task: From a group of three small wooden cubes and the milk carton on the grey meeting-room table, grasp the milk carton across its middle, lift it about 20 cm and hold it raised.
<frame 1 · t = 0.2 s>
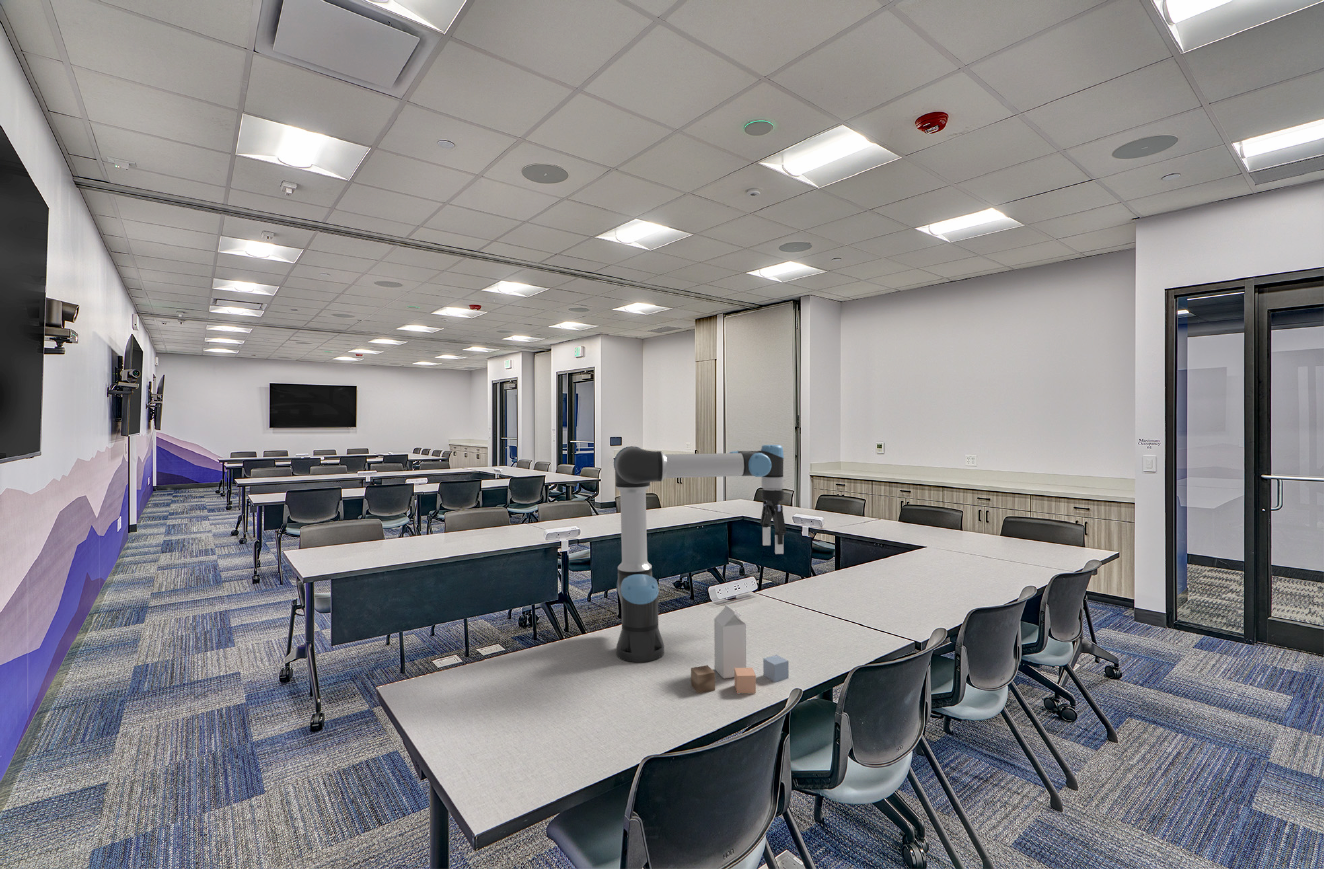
hand: (772, 549, 202), 28 cm above the table, fingers open, 13 cm apart
milk carton: (730, 673, 167), on the table
walnut cube: (703, 688, 158), on the table
slate cube: (775, 677, 164), on the table
terracotta cube: (745, 690, 157), on the table
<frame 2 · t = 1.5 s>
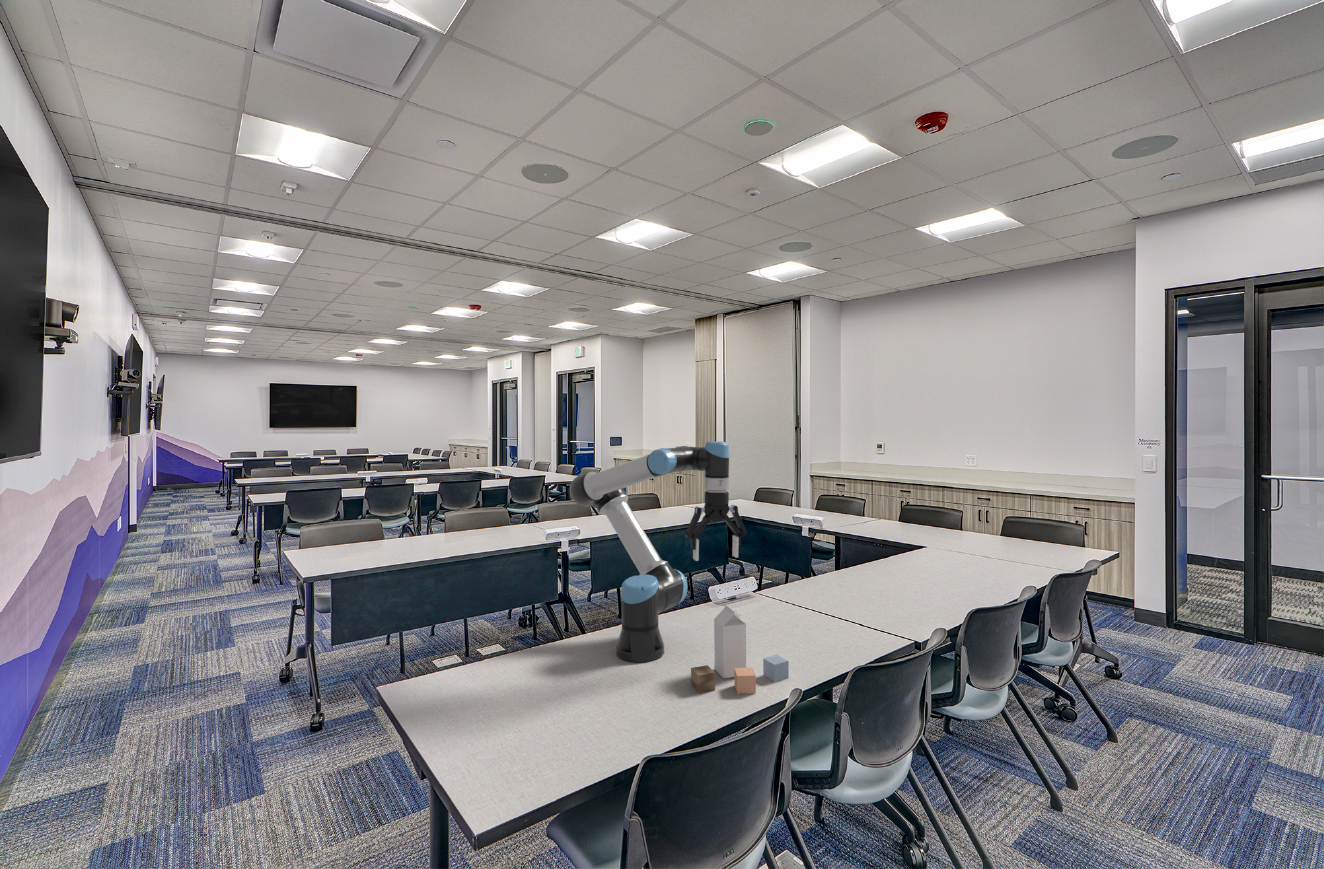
hand: (715, 558, 181), 30 cm above the table, fingers open, 13 cm apart
nothing on the table moved.
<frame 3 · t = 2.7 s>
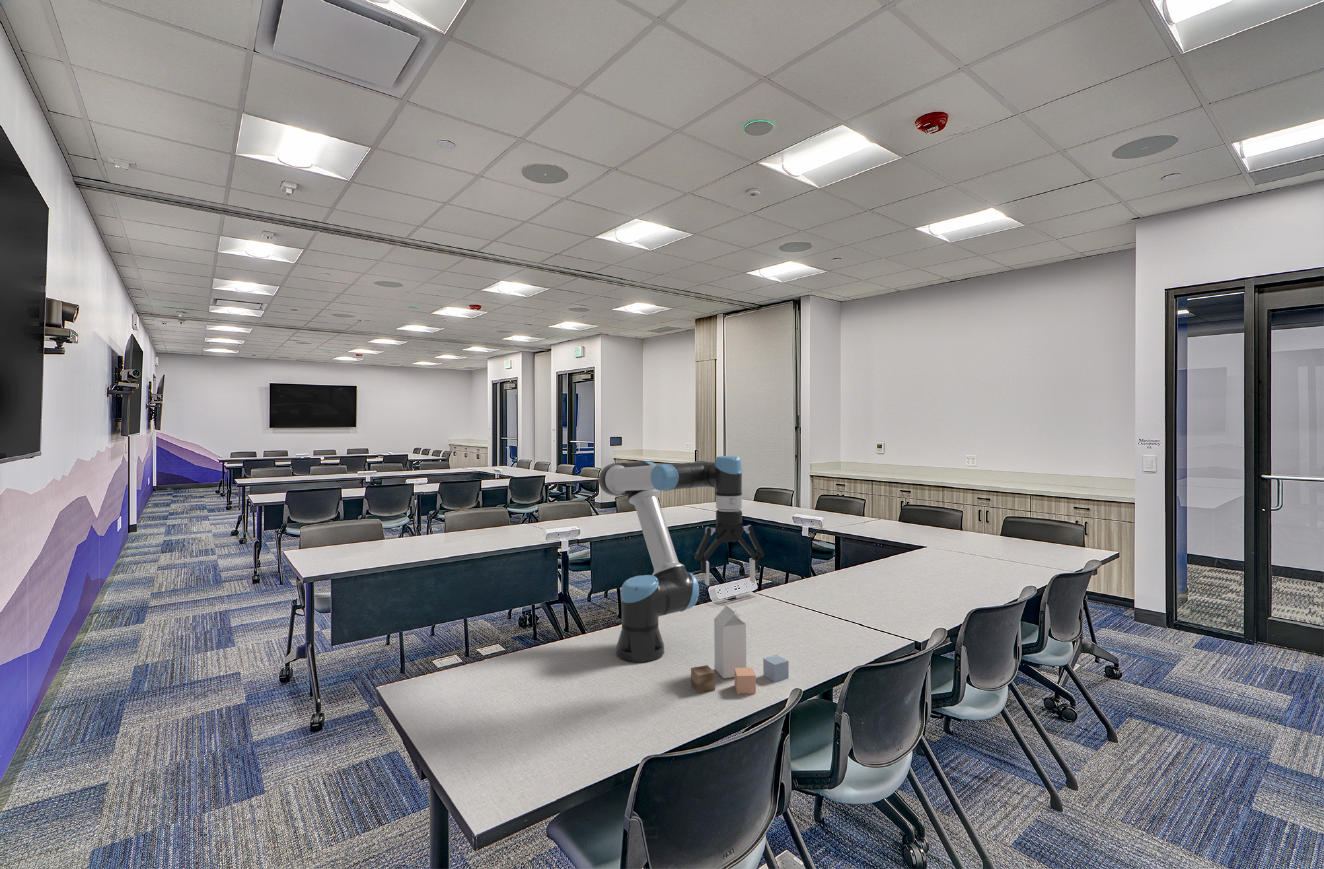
hand: (729, 583, 167), 26 cm above the table, fingers open, 13 cm apart
nothing on the table moved.
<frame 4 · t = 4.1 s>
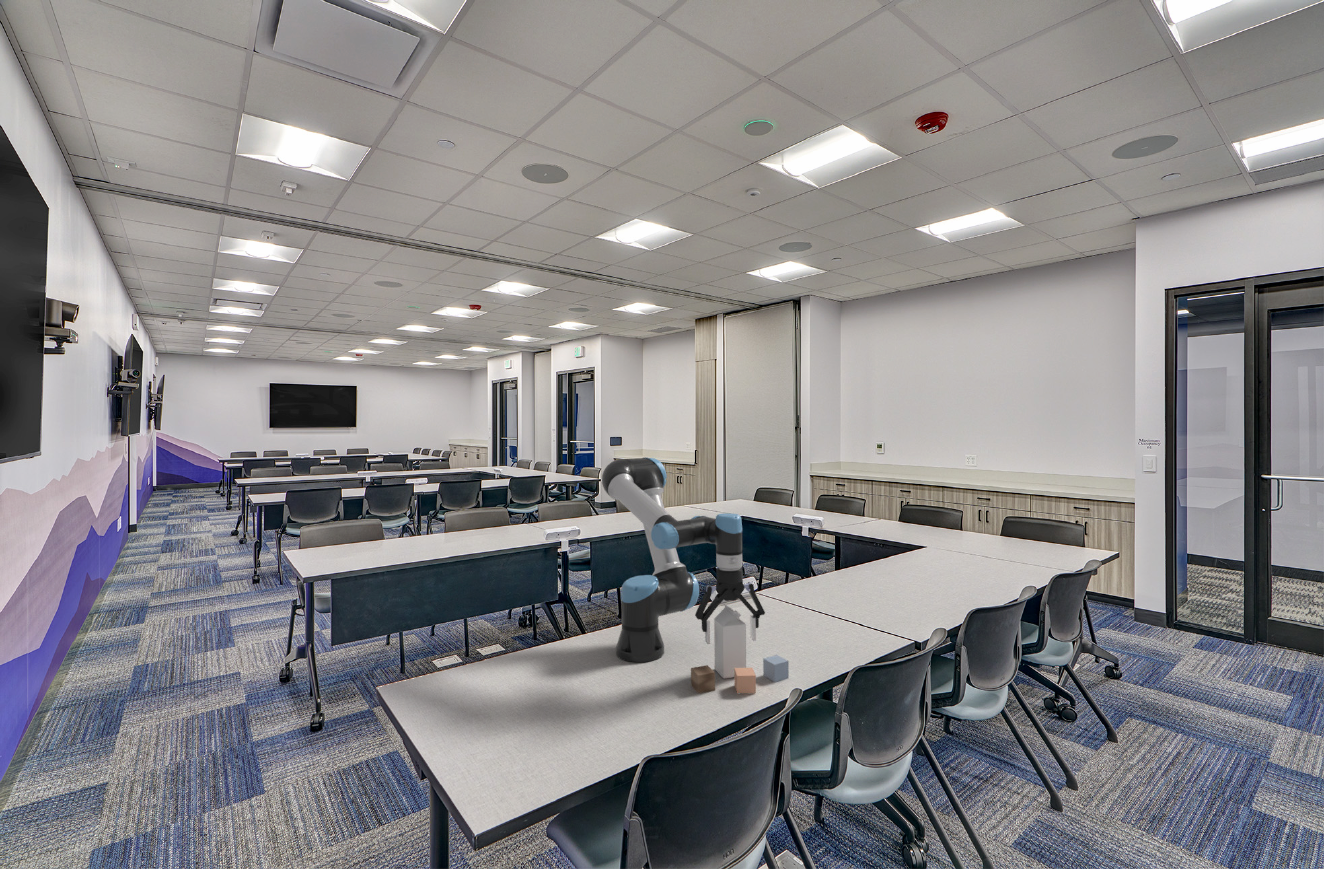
hand: (730, 641, 167), 9 cm above the table, fingers open, 13 cm apart
nothing on the table moved.
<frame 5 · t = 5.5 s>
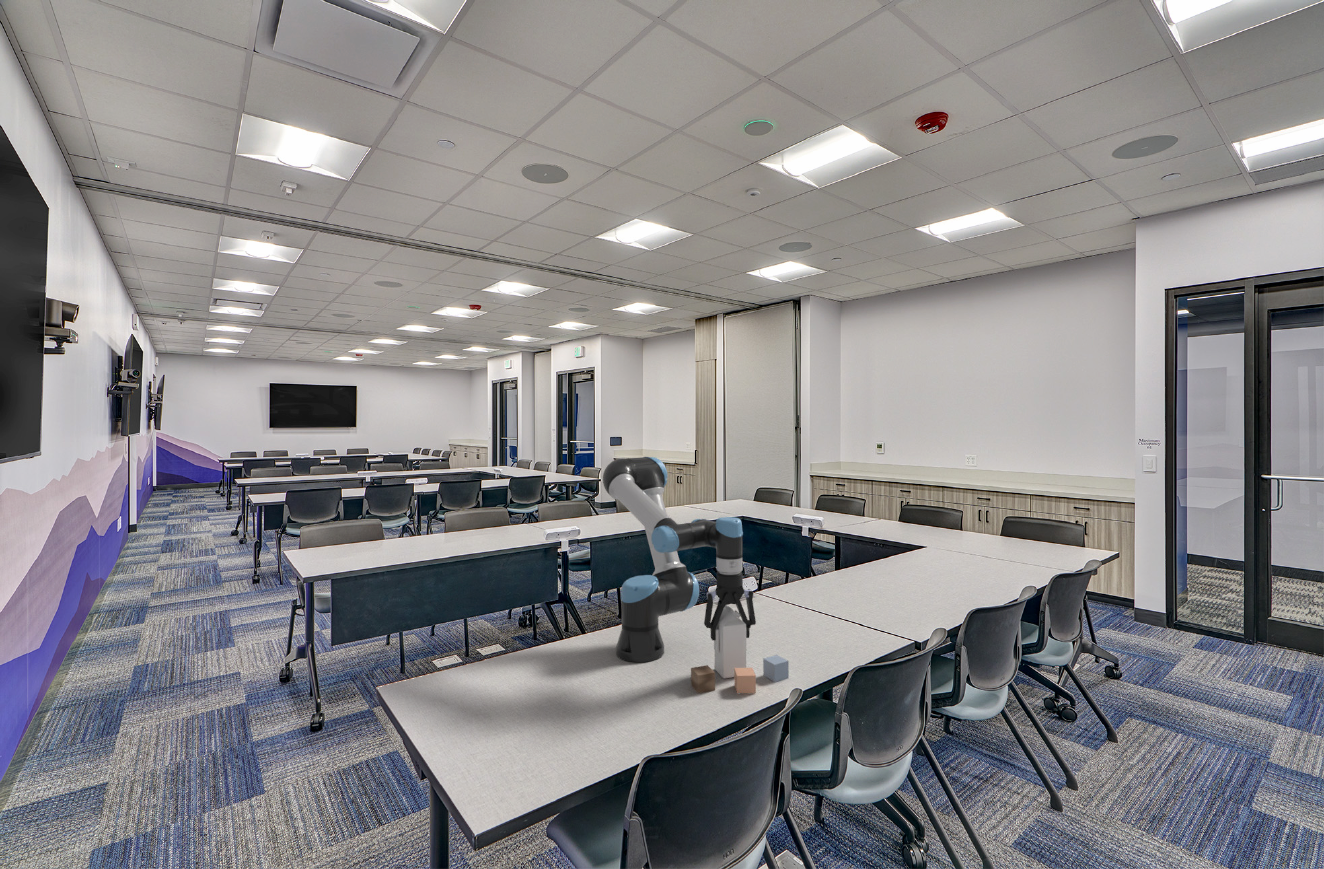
hand: (730, 649, 167), 7 cm above the table, fingers closed on milk carton, 7 cm apart
milk carton: (730, 673, 167), on the table, touching gripper
everything else where it was.
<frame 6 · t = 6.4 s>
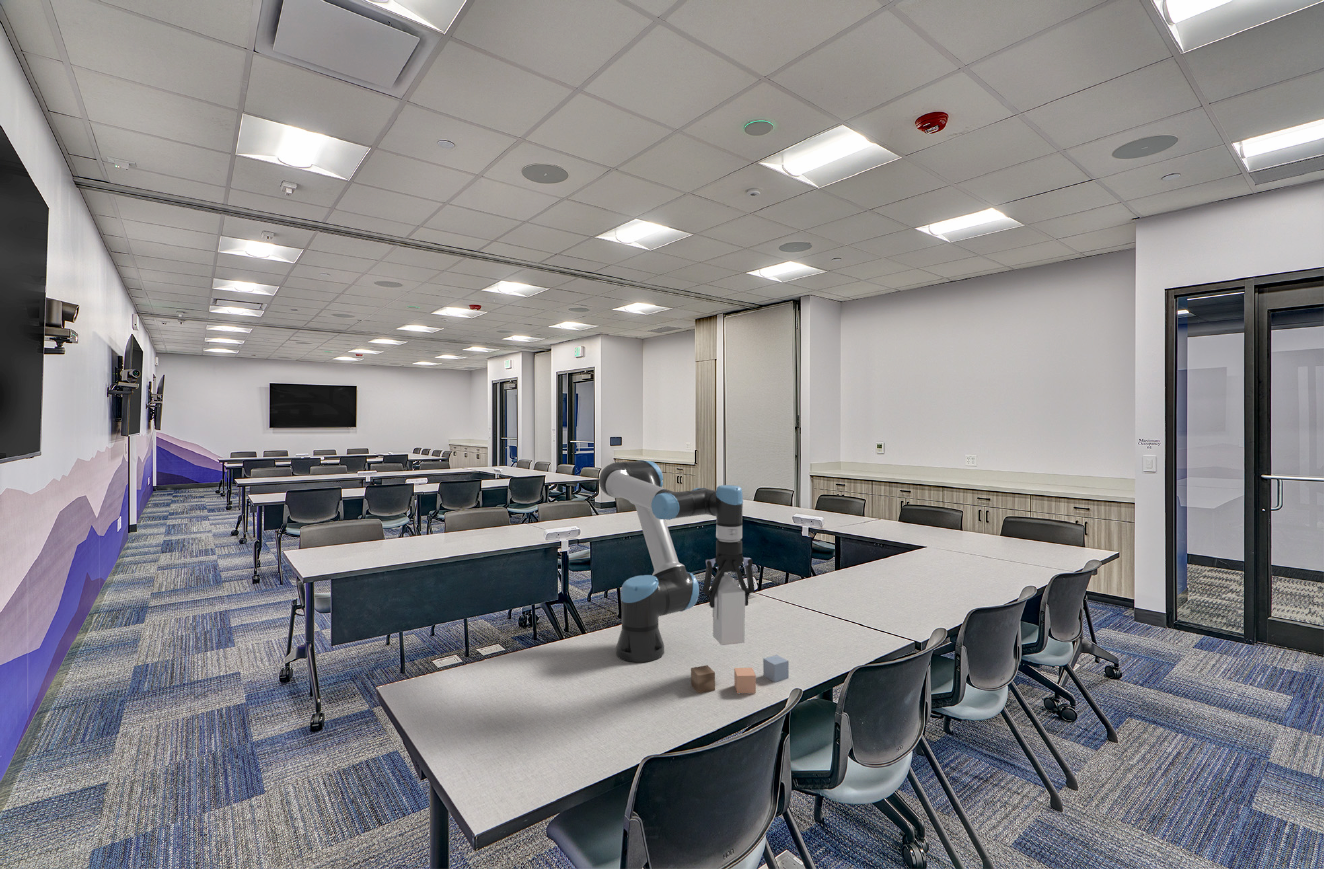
hand: (728, 617, 168), 16 cm above the table, fingers closed on milk carton, 7 cm apart
milk carton: (728, 640, 168), point 9 cm above the table, touching gripper
everything else where it was.
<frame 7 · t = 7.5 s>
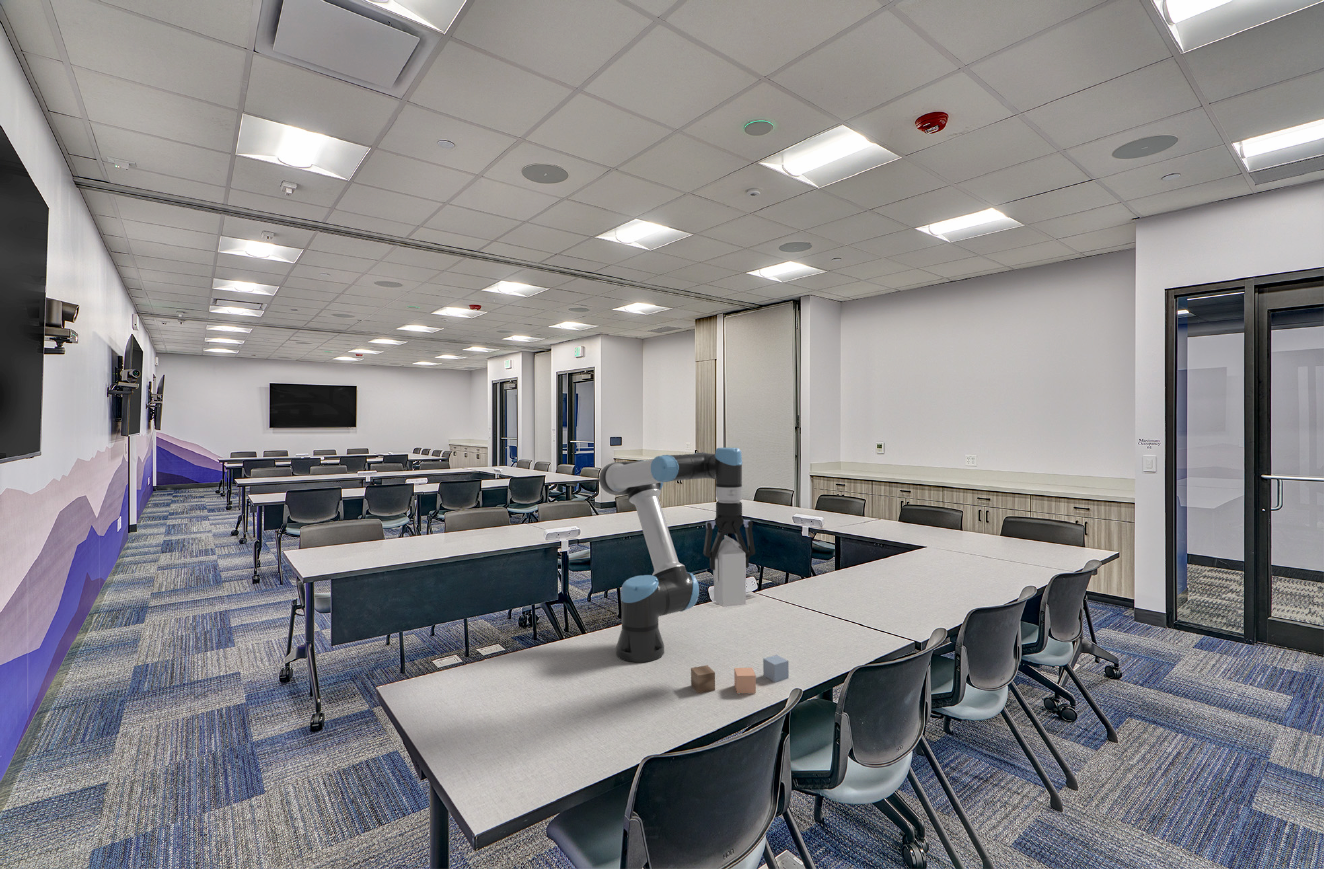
hand: (729, 579, 167), 27 cm above the table, fingers closed on milk carton, 7 cm apart
milk carton: (729, 603, 167), point 20 cm above the table, touching gripper
everything else where it was.
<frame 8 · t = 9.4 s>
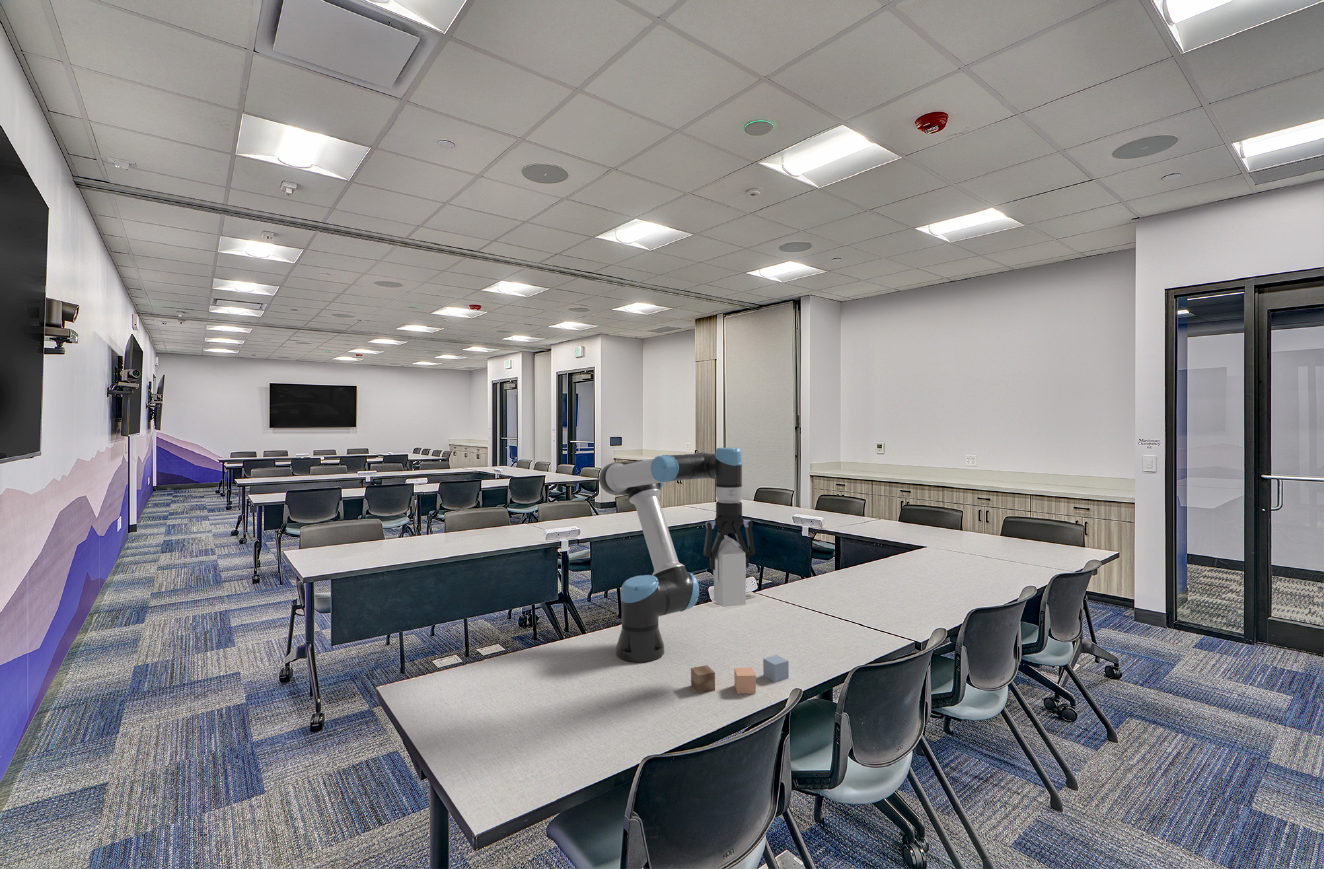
hand: (729, 579, 167), 27 cm above the table, fingers closed on milk carton, 7 cm apart
milk carton: (729, 603, 167), point 20 cm above the table, touching gripper
everything else where it was.
at the end: the gripper is holding milk carton; milk carton point 20.2 cm above the table; slate cube moved 0.1 cm from its start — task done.
